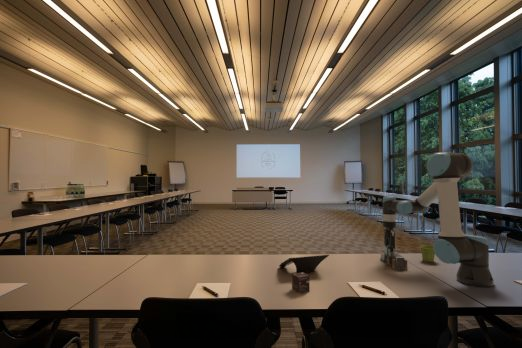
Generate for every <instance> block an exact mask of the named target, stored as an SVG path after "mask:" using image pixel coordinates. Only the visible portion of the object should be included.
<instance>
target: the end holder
mask: <svg viewBox="0 0 522 348" xmlns="http://www.w3.org/2000/svg"><path fill="white" fill-rule="evenodd" d="M380 260H381V261H383V262H384V263H388V259H386V255H385V254H384V252H380Z"/></svg>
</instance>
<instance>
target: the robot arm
mask: <svg viewBox="0 0 522 348" xmlns="http://www.w3.org/2000/svg"><path fill="white" fill-rule="evenodd" d="M473 166H474V165H473V161H472V159H471V158H470V156H468V155H467V154H464V153H462V152H445V151H444V152H435V153H434V154H432V155H431V156H430V157H429V158H428V160H427V163H426V170H427V173H428V174H429V175H430V176H432V182H433V181H434V182H433V183H432V184H430V186H428V187H427V188H426V189H425V190H424V191H423V192H422V193H421V194H420V195H419V196H418V197H417V198H415V199H413V200H411V199H410V200H409V199H408V200H397V199H396V196H389V195H387V196H386V195H385V196H382V197H383V198H382V215H381V217H382V227H383V228H384V229H383V235H384V236H383V239H384V240H383V243H384V246H387V245H389V248H388V249H389V256H390V252H393V253H394V248H395V249H396V232H394V229H395V228H396V226H397V222H396V220H397V214H401V215H402V214H403V215H408V214H413V213H420V214H422V213H427V211H429V209H430V205H431V204H433V203H434V202H435V201H436V200H438V212H439V213H438V215H439V223H440V224H439V225H440V231H439V232H438V234H437V239H436V240H435V241H434V243H433V245H432V246H433V249H434V253H435V256H436V258H437V259H438V260H439V261H440V262H442V263H444V264H449V265H450V264H452V265H455V264H459V266H458V270H457V272H456V275H455V276H456V280H457V281H458V282H460V283H461V284H465V285H467V286H472V287H473V286H474V287H481V288H483V287H484V288H490V287H494V281H495V280H494V277H493V275H492V273H491V271H490V265H489V263H490V260H489V259H490V255H489V253H490V244H489V240H488V238H487V237H484V236H480V235H473V234H467V233H464V232H463V231H462V222H461V213H460V212H461V211H460V202H459V201H460V200H459V190H458V182H462V181H464V179H466V177H468V176H469V175H470V173H471V172H472V170H473V168H474V167H473ZM396 213H397V214H396Z"/></svg>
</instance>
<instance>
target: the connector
mask: <svg viewBox="0 0 522 348" xmlns="http://www.w3.org/2000/svg"><path fill="white" fill-rule="evenodd" d="M388 248H389V245H387V246H385V245H384V247H383V253H384V254H385V255H386V259H388V257H387V255H388V256H389V249H388ZM394 253H396V247H395V248H394Z"/></svg>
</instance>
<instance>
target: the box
mask: <svg viewBox="0 0 522 348" xmlns="http://www.w3.org/2000/svg"><path fill="white" fill-rule="evenodd" d="M291 289H292V290H293V291H294V292H296V293H297V294H304V293H309V292H310V275H308V274H307V273H296V272H294V273H292V274H291Z"/></svg>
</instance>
